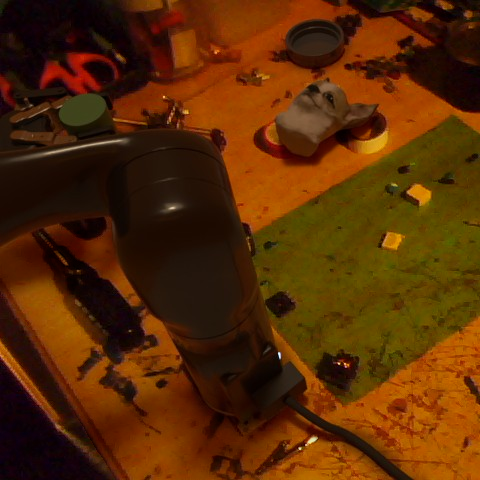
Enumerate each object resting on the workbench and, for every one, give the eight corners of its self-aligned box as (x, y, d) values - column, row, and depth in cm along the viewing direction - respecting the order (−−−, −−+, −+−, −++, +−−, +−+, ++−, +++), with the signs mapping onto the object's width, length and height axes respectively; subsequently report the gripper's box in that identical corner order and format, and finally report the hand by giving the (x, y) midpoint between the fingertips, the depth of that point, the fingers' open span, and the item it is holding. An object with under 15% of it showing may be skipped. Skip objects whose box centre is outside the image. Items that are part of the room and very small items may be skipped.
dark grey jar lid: (356, 50, 104) (355, 36, 102) (311, 77, 101) (309, 64, 99) (319, 24, 109) (318, 11, 107) (275, 50, 106) (273, 37, 104)
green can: (136, 161, 77) (114, 109, 71) (98, 184, 75) (71, 132, 69) (115, 139, 80) (92, 86, 73) (78, 160, 78) (50, 108, 71)
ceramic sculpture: (247, 96, 87) (323, 42, 93) (255, 145, 93) (325, 91, 100) (309, 132, 82) (384, 72, 89) (312, 181, 89) (382, 122, 96)
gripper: (-27, 137, 78) (117, 100, 80) (-29, 229, 70) (132, 186, 72) (-61, 87, 72) (96, 49, 74) (-68, 181, 64) (108, 136, 66)
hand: (112, 117), depth 73 cm, fingers closed on green can, 5 cm apart
